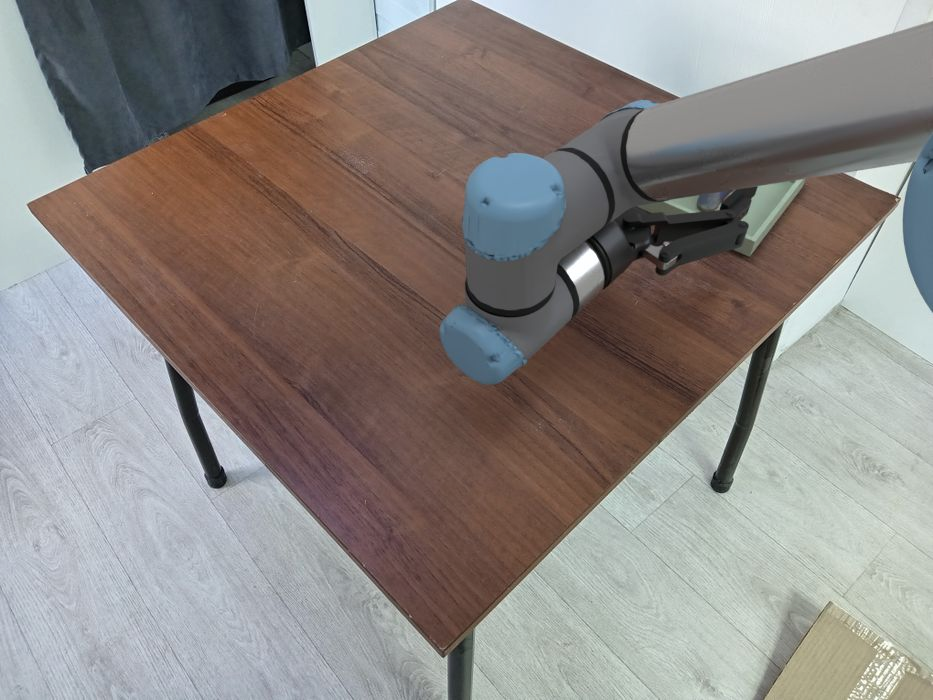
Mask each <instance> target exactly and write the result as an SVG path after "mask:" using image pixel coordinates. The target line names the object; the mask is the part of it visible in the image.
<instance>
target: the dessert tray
mask: <svg viewBox="0 0 933 700" xmlns="http://www.w3.org/2000/svg"><path fill="white" fill-rule="evenodd" d="M805 182H806V179H801V180H795V181H788V182H782V183H775V184H769V185H762V186H758V188H757V191H756V194H755V196H753V197H752V198H751V199H752V201H751V205H750V208H749V211H748V214H747V215H746V216H744V218H742V220H741V221H745V222H747V223H748V224H749V227H748V230H747V233H746V236H745V239H744V242H743V245H742V246H741V247H739V248H736V249H732V250H733V251H735V252H738V253H739V254H742V255H744V256H746V257H749V258H750V257H751V256H752V254H753V253H754V252H755V250H756V249H757V248H758V246H760V244H761V242H763V240H764V239H765V237H766V236H767V234H769V232H770V231H771V229H772V228H773V227H774V226H775V224H776V223H777V222H778V220H779V219H780V218H781V216H782V215H783V214H784V213H785V211H786V210H787V208H788V207H789V206H790V204H791V203H792V202H793V201H794V199H795V198H796V197H797V195H798V194H799V193H800V191H801V190H802V189H803V187H804V184H805ZM734 191H735V190H734ZM732 193H733V192H731V193H730V194H729V195H731V194H732ZM698 198H699V195H698V196H692V197H685V198H679V199H672V200H668V201H664V202H658V203H652V204H645V205H639V206H636V207H639V208H642V209H643V210H645V211H647V213H657V212H663V213H664V214H665V215H676V214H686V213H695V212H704V211H700V210H699V209H698V208H697V201H698ZM720 206H721V204H720V205H719V206H718V207H719V208H718V209H716V210H720ZM699 208H700V207H699ZM700 209H701V208H700Z"/></svg>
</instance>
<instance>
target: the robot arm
mask: <svg viewBox="0 0 933 700" xmlns="http://www.w3.org/2000/svg"><path fill="white" fill-rule="evenodd" d="M910 163H914V165H913V167H912V170H911V173H910V176H909V179H908V183H907V186H906V190H905V195H904V201H903V209H902V238H903V246H904V252H905V256H906V261H907V265H908V268H909V271H910V274H911V276H912V279H913V281H914V284H915V286H916V288H917V290H918V292H919V294H920V296H921V298H922V299H923V301H924V303H925V304H926V306H927V307H928V308H929V310H930V311H931V314H933V20H931V21H927V22H924V23H921V24H918V25H914V26H911V27H907V28H905V29H901V30H898V31H895V32H892V33H888V34H885V35H882V36H878V37H875V38H872V39H869V40H865V41H862V42H858V43H856V44H852V45H849V46H846V47H842V48H840V49H835V50H831V51H829V52H826V53H823V54H820V55H816V56H813V57H810V58H807V59H804V60H803V59H802V60H800V61H797V62H793V63H789V64H787V65H783V66H780V67H777V68H774V69H771V70H767V71H764V72H760V73H757V74H754V75H751V76H746V77H743V78H741V79H738V80H734V81H730V82H727V83H724V84H721V85H717V86H714V87H712V88H708V89H704V90H701V91H698V92H695V93H692V94H688V95H685V96H682V97H679V98H675V99H671V100H669V101H666V102H662V103H659V102H658V103H656V102H654V101H651V100H649V99H640V100H639V99H638V100H635V101H632V102H630V103H628V104H626V105H624V106H622V107H620V108H617V109H616V110H613V111H611V112H609V113H607V114H606V115H604V116H602V118H601V119H600V120H599V121H597V123H595V124H593V125H592V126H591V127H589V128H588V129H587V130H585V131H583V132H582V133H581V134H579V135H578V136H576V137H574V138H572V139H571V140H570V141H568V142H567V143H565V144H564V145H563V146H561V147H560V148H558V149H556V150H554V151H553V152H550V153H549V154H547V155H546V156H544V157H543V158H542V157H540V156H537V155H534V154H530V153H523V152H510V153H508V154H507V155H506V156H504V157H498V156H492V157H490V158H487V159H485V160H484V161H482V162H480V164H478V165H477V166H476V167H475V168H474V169H473V170H472V172H471V173H470V175H469V176H468V178H467V181H466V184H465V190H464V191H465V192H464V203H463V214H462V218H461V230H462V233H463V239H464V241H463V242H464V254H465V255H464V256H465V279H464V300H463V302H461V303H459V304H458V305H455V306H453V308H452V310H451V311H450V312H449V313H448V314H447V315H446V316H445V318H444V319H443V320H442V321H441V324H440V325H439V339H440V343H441V345H442V347H443V349H444V352H445V354H447V356H448V358H449V359H450V361H451V362H452V363H453V365H455V366H456V367H457V369H459V371H460V372H462V373H463V374H464V375H465V376H467V377H468V378H470V379H471V380H473V381H475V382H476V383H478V384H481V385H482V384H483V385H487V386H492V385H498V384H500V383H502V382H503V381H504V380H506V379H507V378H508V377H509V376H510V375H512V374H513V373H514V372H515V371H517V370H518V369H519V368H520V367H524V366H525V365H527V363H528V361H529V360H530V359H531V358H532V357H533V356H534V355H535V354H536V353H537V352H538V351H539V350H541V348H542V347H544V345H546V344H547V343H548V342H549V341H550V340H551V339H552V338H554V336H556V334H557V333H559V331H560V330H562V329H563V328H564V327H565V326H566V325H567V324H568V323H569V322H571V320H572V319H573V318H574V317H576V316H577V315H578V314H579V313H580V312H582V311H583V309H585V308H586V307H587V306H588V305H589V304H590V303H591V302H593V301H594V299H596V298H597V297H598V296H599V295H600V294H601V292H602V291H604V290H605V289H607V288H608V287H609V286H610V285H611V284H613V283H614V281H616V280H617V279H618V278H619V277H620V276H621V275H622V274H623V273H624V272H625V271H627V269H628V268H629V267H630V266H631V265H632V264H633V263H634V262H635V261H637V260H642V259H644V258H645V260H647V261H649V262H650V263H652V264H653V265H654V266H655V269H654V271H655V274H657V275H658V276H667V275H668V274H669V273H670V272H672V271H673V270H675V269H676V268H677V267H679V266H683V265H686V264H689V263H693V262H696V261H699V260H702V259H706V258H709V257H712V256H716V255H719V254H722V253H726V252H728V251H732V250H733V249H736V248H739V247H741V246H742V245H743V242H744V239H745V236H746V233H747V230H748V227H749V224H748V223H747V222H745V221H741V220H742V218H744V216H746V215H747V214H748V211H749V208H750V205H751V201H752V199H751V198H752V197H753V196H755V194H756V191H757V188H758V186H762V185H769V184H775V183H782V182H788V181H795V180H801V179H805V180H807V179H812V178H814V179H815V178H820V177H826V176H833V175H839V174H846V173H853V172H859V171H864V170H872V169H878V168H883V167H884V168H885V167H890V166H895V165H896V166H897V165H903V164H910ZM730 190H735V191H734V192H733V193H732V194H731V195H729V196H728V197H727V198H726V199H725V200H724V201H723V202H722V203H721V206H720V210H715V211H705V212H695V213H686V214H676V215H665V214H664V213H663V212H657V213H650V212H648V211H646V210H644V209H642V208H639V207H637V206H639V205H645V204H652V203H658V202H664V201H668V200H672V199H679V198H685V197H692V196H698V195H704V194H711V193H717V192H724V191H730ZM653 226H654V229H653V232H652V227H653Z"/></svg>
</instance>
